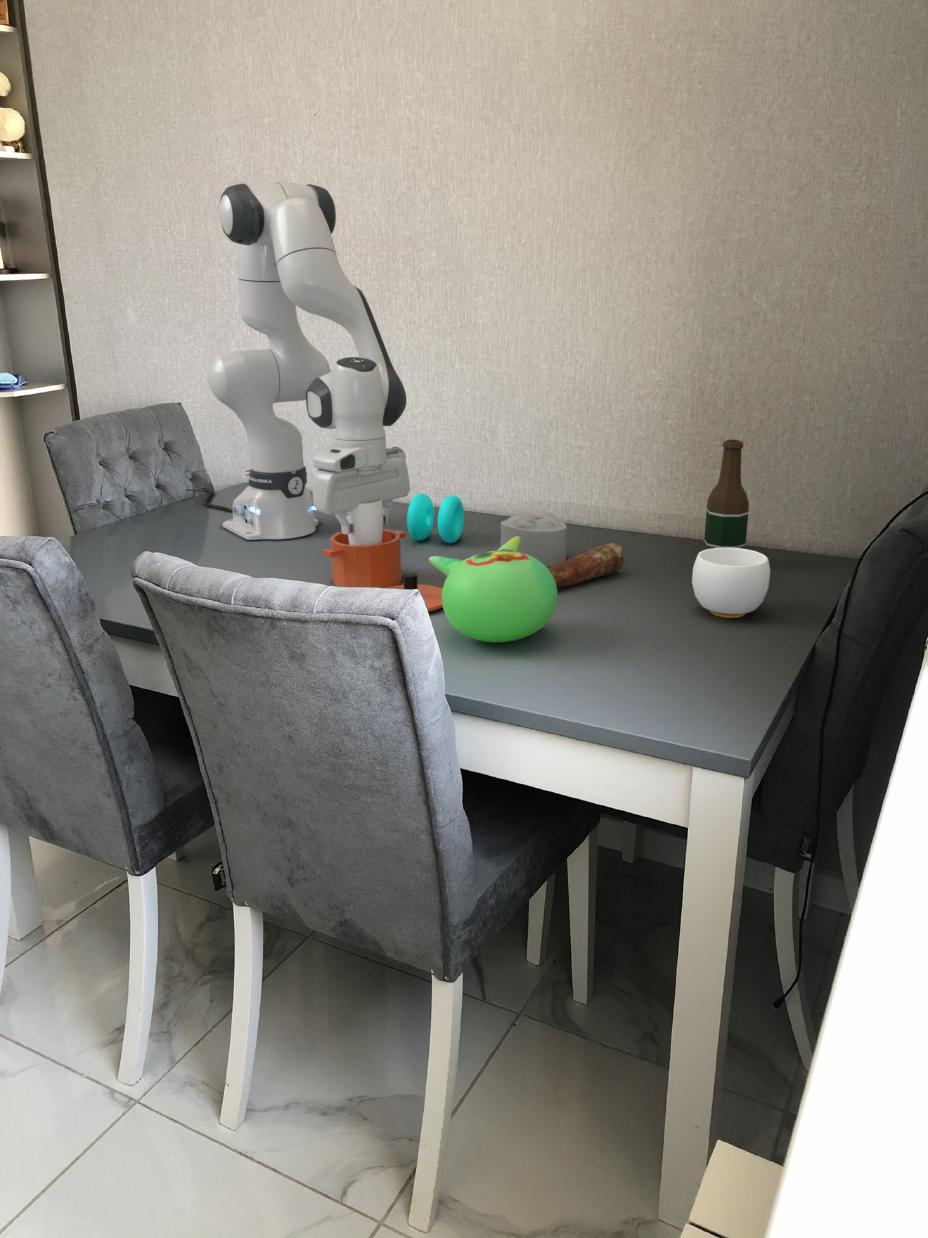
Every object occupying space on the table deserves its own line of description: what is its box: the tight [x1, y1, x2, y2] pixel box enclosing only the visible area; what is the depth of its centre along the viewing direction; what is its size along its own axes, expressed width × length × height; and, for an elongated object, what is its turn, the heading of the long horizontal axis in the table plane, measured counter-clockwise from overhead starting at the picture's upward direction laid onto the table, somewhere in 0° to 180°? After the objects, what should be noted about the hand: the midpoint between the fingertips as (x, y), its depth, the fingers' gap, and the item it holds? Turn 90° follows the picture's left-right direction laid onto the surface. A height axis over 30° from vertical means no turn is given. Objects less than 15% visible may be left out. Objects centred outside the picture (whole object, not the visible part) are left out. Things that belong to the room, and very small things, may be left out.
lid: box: [387, 572, 443, 612], centre depth 167 cm, size 14×14×5 cm
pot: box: [322, 528, 407, 588], centre depth 178 cm, size 13×18×8 cm
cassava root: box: [547, 542, 625, 590], centre depth 177 cm, size 6×19×6 cm, turn 128°
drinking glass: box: [346, 499, 384, 545], centre depth 177 cm, size 7×7×15 cm
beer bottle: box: [702, 439, 750, 551], centre depth 182 cm, size 8×8×24 cm
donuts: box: [406, 493, 465, 544], centre depth 203 cm, size 10×10×10 cm
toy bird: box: [428, 536, 558, 643], centre depth 149 cm, size 18×17×15 cm
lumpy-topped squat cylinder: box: [500, 511, 568, 568], centre depth 190 cm, size 10×13×9 cm
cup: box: [691, 548, 771, 619], centre depth 160 cm, size 12×12×10 cm
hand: (365, 528), depth 176 cm, fingers closed on drinking glass, 7 cm apart
